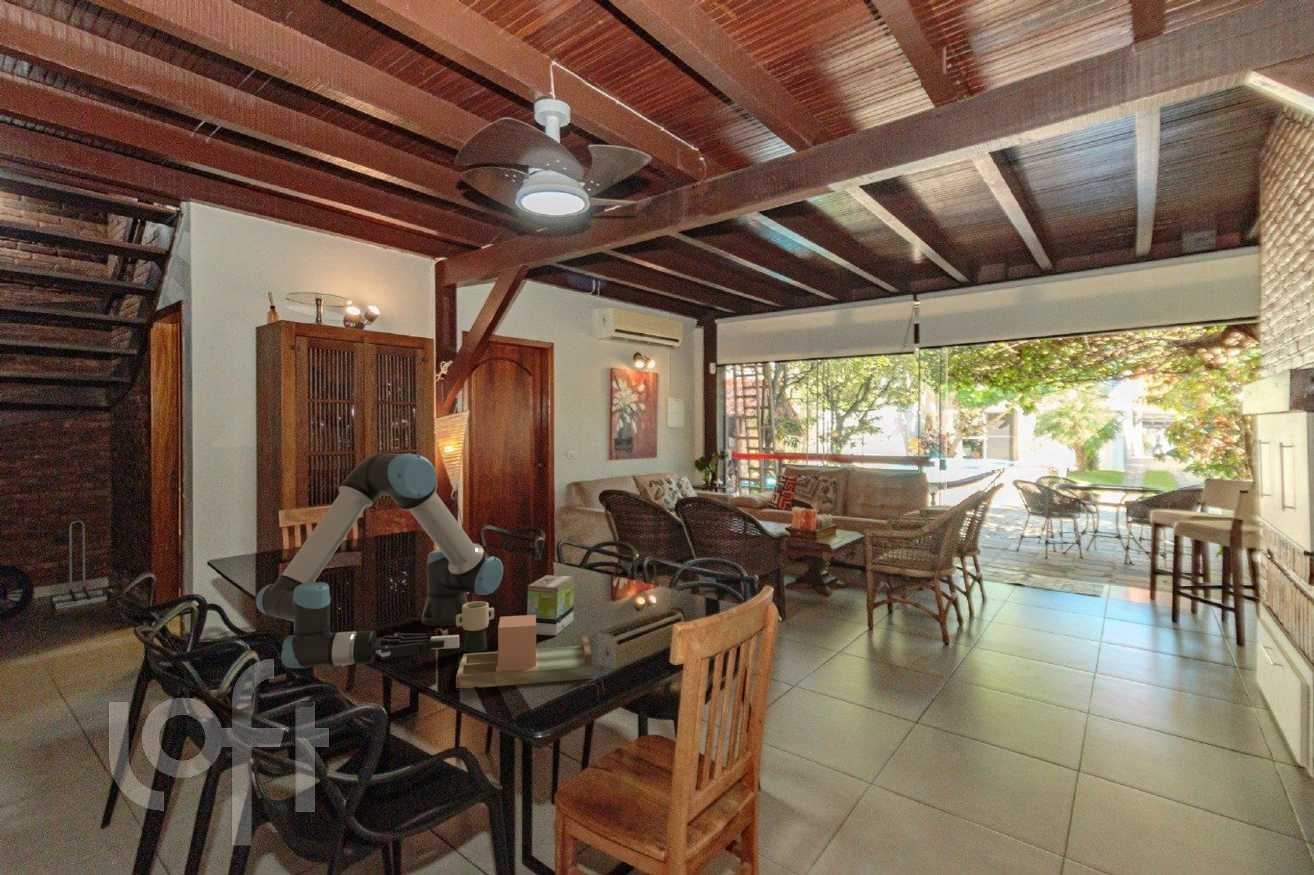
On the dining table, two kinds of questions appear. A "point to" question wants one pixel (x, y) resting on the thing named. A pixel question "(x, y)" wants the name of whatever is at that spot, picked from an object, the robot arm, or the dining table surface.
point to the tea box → (551, 603)
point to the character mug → (475, 625)
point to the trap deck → (548, 667)
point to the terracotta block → (517, 641)
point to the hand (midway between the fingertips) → (458, 641)
